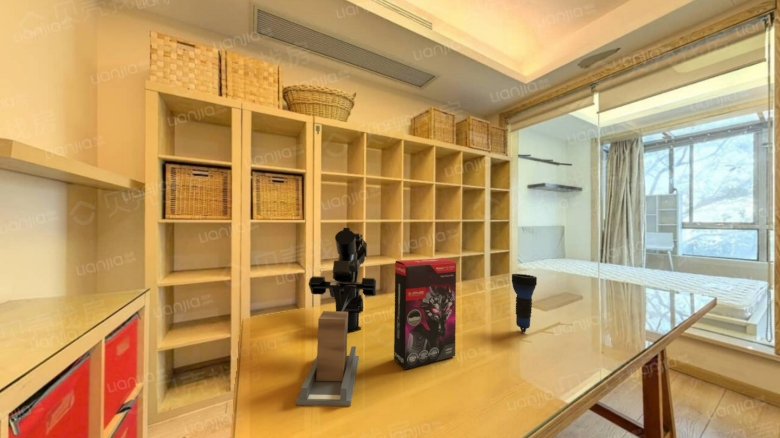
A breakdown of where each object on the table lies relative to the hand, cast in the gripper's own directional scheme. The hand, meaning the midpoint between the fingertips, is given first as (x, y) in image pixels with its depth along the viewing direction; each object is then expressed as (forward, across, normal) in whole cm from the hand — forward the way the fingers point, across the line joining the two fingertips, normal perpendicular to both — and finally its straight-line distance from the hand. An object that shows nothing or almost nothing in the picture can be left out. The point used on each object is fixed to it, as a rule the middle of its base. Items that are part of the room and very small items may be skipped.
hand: (339, 314), depth 70 cm
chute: (+14, 0, +4) cm, 15 cm away
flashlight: (-7, +61, +25) cm, 67 cm away
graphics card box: (+7, +23, +11) cm, 27 cm away
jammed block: (+14, 0, +2) cm, 14 cm away
